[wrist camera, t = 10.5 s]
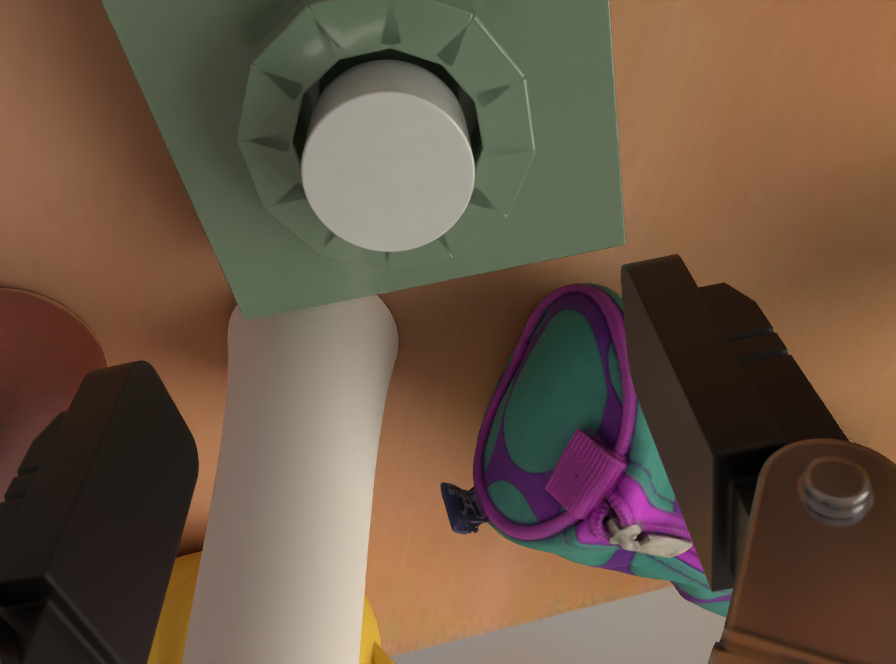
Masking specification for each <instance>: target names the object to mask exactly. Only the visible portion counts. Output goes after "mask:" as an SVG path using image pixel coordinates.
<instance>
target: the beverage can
mask: <svg viewBox="0 0 896 664" xmlns="http://www.w3.org/2000/svg"><path fill="white" fill-rule="evenodd" d="M105 367H107V364H106V360H105V357H104V354H103V351H102V349H101V347H100V344H99V342H98V340H97V339H96V337H95V335H94V334H93V332H92V331H91V330H90V328H89V327H88V326H87V325H86V324H85V323H84V322H83V321H82V320H81V319H80V318H79V317H78V316H77V315H76V314H74V313H73V312H72V311H70V310H69V309H68V308H66V307H65V306H63V305H61V304H59V303H58V302H56V301H54V300H52V299H49V298H47V297H45V296H42V295H39V294H36V293H33V292H29V291H25V290H20V289H13V288H0V503H1V502H4V501H5V498H4V495H5V493H6V491H7V489H8V487H9V485H10V483H11V481H12V479H13V478H14V477H17V476H18V472H17V470H18V468H19V466H20V464H21V462H22V460H23V459H24V457H25V455H26V453H27V451H28V449H29V447H30V445H31V443H32V441H33V440H34V439H35V438H36V437H37V436H38V435H39V434H40V433H41V432H42V431H43V430H44V429H45V428H46V427H47V426H48V425H49V423H50V422H51V421H52V420H53V419H54V418H55V417H56V416H57V415H58V414H59V413H60V412H63V411H67V410H68V408H69V406H70V404H71V402H72V400H73V398H74V396H75V394H76V392H77V390H78V388H79V386H80V384H81V382H82V380H83V378H84V377H85V375H86V374H87V373H88V372H89V371H91V370H95V369H100V368H105Z"/></svg>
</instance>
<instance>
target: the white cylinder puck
mask: <svg viewBox="0 0 896 664" xmlns="http://www.w3.org/2000/svg"><path fill="white" fill-rule="evenodd" d="M301 179H302V185H303V189H304V193H305V196H306V198H307V200H308V203H309V205H310V206H311V208H312V210H313V212H314V213H315V214H316V216H317V217H318V218H319V220H320V221H321V222H322V223H323V224H324V225H325V226H326V227H327V228H328V229H329V230H330V231H332V232H333V233H334V234H336V235H337V236H338V237H340V238H342V239H343V240H345V241H347V242H349V243H351V244H353V245H356V246H359V247H362V248H365V249H369V250H374V251H383V252H397V251H405V250H410V249H414V248H418V247H420V246H423V245H425V244H428V243H430V242H432V241H434V240H435V239H437V238H439V237H440V236H441V235H443V234H444V233H446V232H447V231H448V230H449V229H450V228H451V227H452V226H453V225H454V224H455V223H456V222H457V221H458V219H459V218H460V217H461V215H462V214H463V212H464V211H465V209H466V207H467V205H468V203H469V201H470V198H471V195H472V192H473V187H474V181H475V165H474V157H473V152H472V148H471V143H470V138H469V133H468V128H467V123H466V119H465V116H464V112H463V110H462V108H461V105H460V103H459V101H458V100H457V98H456V96H455V95H454V93H453V92H452V91H451V90H450V88H449V87H448V86H447V85H446V84H445V83H444V82H443V81H442V80H441V79H440V78H438V77H437V76H436V75H434V74H433V73H431V72H430V71H428V70H426V69H424V68H422V67H420V66H417V65H415V64H412V63H408V62H404V61H399V60H375V61H368V62H365V63H362V64H358V65H356V66H354V67H352V68H349V69H347V70H346V71H344V72H343V73H341V74H339V75H338V76H337V77H336V78H335V79H333V80H332V81H331V82H330V83H329V84H328V85H327V87H326V88H325V89H324V90H323V92H322V93H321V95H320V96H319V98H318V100H317V102H316V104H315V106H314V108H313V111H312V115H311V118H310V123H309V127H308V132H307V136H306V140H305V145H304V149H303V154H302V160H301Z"/></svg>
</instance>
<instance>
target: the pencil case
mask: <svg viewBox="0 0 896 664" xmlns="http://www.w3.org/2000/svg"><path fill="white" fill-rule="evenodd" d="M473 480H474V487H473V488H471V489H470V490H469V491H467V490H462V489H460V488H459V487H457V486H456V485H453V484H450V483H444V482H443V483H441V485H440V486H441V492H442V497H443V500H444V503H445V507H446V510H447V514H448V518H449V521H450V525H451V528H452V530H453V531H454V532H456V533H459V534H467V533H471V532H472V531H474V533H476V532H477V531H478V530H479V529H478V526H479V525H480V524H482V523H489V524H490V525H491V526H492V527H493V528H494V529H495V530H496V531H497V532H498V533H499V534H501V535H502V536H503V537H505V538H506V539H508V540H510V541H512V542H514V543H516V544H519V545H521V546H525V547H528V548H532V549H536V550H540V551H545V552H550V553H555V554H557V555H559V556H561V557H563V558H566V559H568V560H570V561H573V562H576V563H579V564H583V565H587V566H591V567H599V568H604V569H609V570H614V571H619V572H623V573H627V574H630V575H635V576H640V577H645V578H652V579H660V580H667V581H670V582H671V583H672V584H673V585H674V586H675V588H676V590H677V591H678V592H679V594H680V595H681V596H682V597H683V598H684V599H686V600H688V601H690V602H692V603H694V604H696V605H698V606H700V607H702V608H704V609H706V610H709V611H711V612H713V613H716V614H718V615H721V616H724V617H727V613H728V608H729V604H730V600H731V595H732V591H733V589H728V590H722V591H716V592H712V591H711V589H710V586H709V584H708V581H707V578H706V576H705V573H704V571H703V568H702V565H701V563H700V560H699V557H698V555H697V552H696V550H695V547H694V544H693V542H692V539H691V537H690V534H689V531H688V529H687V526H686V524H685V521H684V518H683V516H682V513H681V511H680V508H679V505H678V503H677V500H676V498H675V495H674V492H673V490H672V487H671V485H670V482H669V479H668V477H667V474H666V472H665V469H664V466H663V464H662V461H661V459H660V456H659V453H658V451H657V448H656V446H655V443H654V440H653V438H652V435H651V433H650V430H649V427H648V425H647V422H646V420H645V417H644V414H643V412H642V409H641V407H640V404H639V401H638V399H637V396H636V393H635V390H634V387H633V383H632V379H631V375H630V370H629V364H628V358H627V349H626V336H625V323H624V310H623V299H622V298H621V297H620V296H619V295H618V294H617V293H615V292H614V291H612V290H611V289H609V288H607V287H605V286H601V285H596V284H590V283H583V284H573V285H568V286H564V287H561V288H559V289H557V290H555V291H553V292H552V293H550V294H549V295H547V296H546V297H545V298H544V299H543V300H542V301H541V302H540V303H539V305H538V306H537V307H536V309H534V310H533V311H532V313H531V315H530V318H529V320H528V322H527V324H526V326H525V327H524V329H523V331H522V334H521V336H520V338H519V340H518V342H517V344H516V346H515V348H514V350H513V352H512V354H511V356H510V358H509V361H508V363H507V365H506V367H505V369H504V371H503V373H502V375H501V377H500V379H499V381H498V383H497V386H496V388H495V390H494V392H493V395H492V397H491V399H490V402H489V404H488V407H487V409H486V412H485V414H484V417H483V420H482V424H481V427H480V430H479V434H478V439H477V445H476V450H475V455H474V462H473ZM476 526H477V528H475V527H476Z"/></svg>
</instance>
